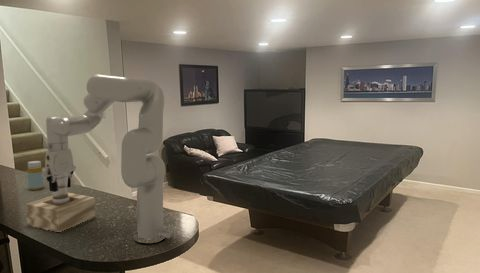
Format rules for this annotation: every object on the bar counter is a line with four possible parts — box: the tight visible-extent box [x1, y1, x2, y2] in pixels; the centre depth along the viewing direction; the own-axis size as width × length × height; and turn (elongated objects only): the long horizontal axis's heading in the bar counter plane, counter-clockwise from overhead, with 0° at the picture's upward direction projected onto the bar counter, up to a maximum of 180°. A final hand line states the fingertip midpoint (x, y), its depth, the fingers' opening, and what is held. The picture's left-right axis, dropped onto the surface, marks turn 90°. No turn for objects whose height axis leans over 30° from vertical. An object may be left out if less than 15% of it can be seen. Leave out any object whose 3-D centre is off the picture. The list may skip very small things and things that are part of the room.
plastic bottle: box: [52, 172, 70, 206], centre depth 141 cm, size 6×7×20 cm
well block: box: [25, 192, 96, 233], centre depth 142 cm, size 18×18×9 cm
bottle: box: [26, 160, 44, 191], centre depth 185 cm, size 7×7×15 cm
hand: (60, 188), depth 141 cm, fingers closed on plastic bottle, 6 cm apart
